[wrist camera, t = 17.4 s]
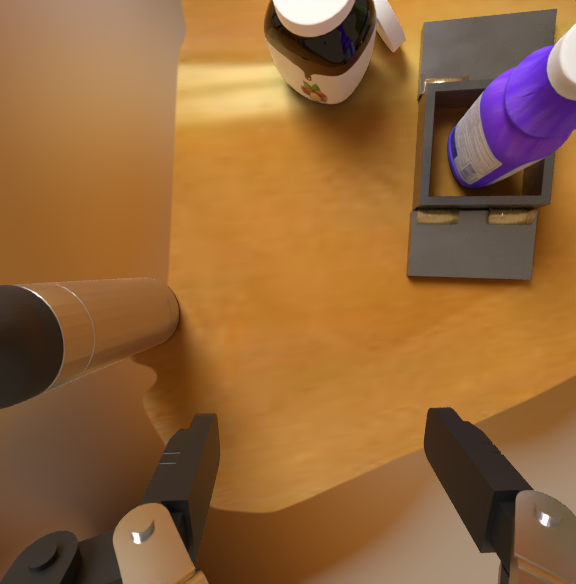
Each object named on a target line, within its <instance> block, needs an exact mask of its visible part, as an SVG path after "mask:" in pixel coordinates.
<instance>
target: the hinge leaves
mask: <svg viewBox="0 0 576 584" xmlns="http://www.w3.org/2000/svg"><path fill="white" fill-rule="evenodd" d="M556 13H557V9H550V10H541V11H531V12H521V13H511V14H502V15H492V16H482V17H473V18H463V19H453V20H444V21H434V22H424V25H423V28H422V31H421V47H420V63H419V80H418V96H417V100H420V101H419V111H418V128H417V144H416V160H415V176H414V193H413V209H412V212H411V213H410V227H409V243H408V260H407V276H433V277H463V278H494V279H524V280H531V275H532V265H533V254H534V244H535V233H536V223H537V212H538V211H535V210H534V209H536V208H539V207H542V206H546V205H549V204H550V200H551V189H552V179H553V169H554V159H555V151H554V152H553V153H552V154H551V155H549V156H548V157H546V158H544V159H542V160H540V161H538V162H536V163H534V164H532V165H530V166H528V167H526V168H525V169H524V176H523V187H522V196H438V197H429V181H430V166H431V151H432V136H433V121H434V109H437V108H454V107H471V106H472V105H473V104H474V102H475V101H476V100H477V99H478V97H479V96H480V95H481V94H482V93H483V91H484V90H485V89H486V87H487V86H488V85H489V84H490V83H491V82H492V81H493V80H494V79H496V78H497V77H499V76H500V75H501V74H502V73H504V72H505V71H507V70H509V69H512V68H515V67H517V66H518V65H519V64H520V62H522V61H523V60H524V59H525V58H526V57H528V56H529V55H531V54H532V53H533V52H535V51H536V50H539V49H541V48H543V47H547V46H553V44H554V34H555V23H556Z"/></svg>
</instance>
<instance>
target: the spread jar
mask: <svg viewBox="0 0 576 584" xmlns="http://www.w3.org/2000/svg"><path fill="white" fill-rule="evenodd" d="M376 31H377V32H378V34H379V35H380V37H381V38H382V40H383V41H384V42H385V44H386V45H387V46H388V48H389V49H390V50H391V51H392V52H395V51H396V50H397V49H398V48H399V47H400V46H401V45H402V44H403V43H404V42H405V41H406V39H405V35H404V32H403V30H402V27H401V25H400V23H399V21H398V19H397V17H396V15H395V13H394V11H393V10H392V8H391V6H390V4H389V3H388V1H387V0H270V1H269V4H268V7H267V11H266V14H265V19H264V34H265V38H266V42H267V45H268V48H269V51H270V54H271V57H272V59H273V62H274V64H275V66H276V68H277V70H278V71H279V73H280V74H281V76H282V77H283V78H284V80H285V81H286V82H287V83H288V84H289V85H290V86H291V87H292V88H293V89H294V90H295V91H296V92H298V93H299V94H300V95H302V96H303V97H304V98H306V99H308V100H310V101H312V102H316V103H320V104H328V105H332V104H337V103H340V102H342V101H344V100H345V99H347V98H348V97H349V96H350V95H351V94H352V92H353V91H354V90H355V89H356V87H357V86H358V84H359V83H360V81H361V80H362V78H363V76H364V74H365V72H366V70H367V68H368V65H369V62H370V60H371V56H372V53H373V48H374V43H375V35H376Z"/></svg>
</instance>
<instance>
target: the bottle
mask: <svg viewBox="0 0 576 584" xmlns="http://www.w3.org/2000/svg"><path fill="white" fill-rule="evenodd" d="M575 129H576V24H575V25H574V26H573V27H572V28H571V29H570V30H569V31H568V32H567V33H566V34H565V35H563V36H562V37H561V38H560V39H559V40H558V42H557V43H556V44H555V45H553V46H547V47H543V48H541V49H539V50H536V51H535V52H533V53H532V54H531V55H529V56H528V57H526V58H525V59H524V60H523V61H522V62H520V64H519V65H518V66H517V67H515V68H512V69H509V70H507V71H505V72H504V73H502V74H501V75H500V76H499V77H497V78H496V79H494V80H493V81H492V82H491V83H490V84H489V85H488V86H487V87H486V89H485V90H484V91H483V93H482V94H481V95H480V96H479V97H478V99H477V100H476V101H475V102H474V104H473V105H472V106H471V107H470V109H469V110H468V111H467V112H466V114H465V115H464V116H463V117H462V119H461V120H460V121H459V122H458V124H457V125H456V126H455V127H454V128H453V130H452V131H451V133H450V135H449V138H448V147H447V149H448V159H449V164H450V167H451V170H452V172H453V174H454V176H455V178H456V179H457V181H458V182H459V183H460V184H461V185H462V186H465V187H469V188H479V187H487V186H490V185H493V184H495V183H497V182H498V181H501V180H504V179H506V178H507V177H509V176H511V175H513V174H515V173H517V172H519V171H521V170H523V169H525V168H526V167H528V166H530V165H532V164H534V163H536V162H538V161H540V160H542V159H544V158H546V157H548V156H549V155H551V154H552V153H553V152H554V151H556V150H557V149H558V148H559V147H560V146H561V145H562V144H563V143H564V142H565V141H566V140H567V139H568V137H569V136H570V134H571V132H572V131H573V130H575Z"/></svg>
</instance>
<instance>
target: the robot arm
mask: <svg viewBox="0 0 576 584" xmlns="http://www.w3.org/2000/svg"><path fill="white" fill-rule="evenodd" d="M178 322H179V306H178V303H177V300H176V298H175V296H174V294H173V292H172V291H171V290H170V289H169V287H167V286H166V285H165V284H164V283H162V282H160V281H159V280H156V279H153V278H130V279H129V278H128V279H108V280H90V281H72V282H54V283H40V284H23V285H1V286H0V409H2V408H6V407H10V406H13V405H15V404H18V403H21V402H23V401H26V400H28V399H30V398H33V397H35V396H37V395H40V394H42V393H44V392H47V391H50V390H52V389H54V388H57V387H59V386H62V385H64V384H66V383H69V382H71V381H73V380H75V379H78V378H80V377H83V376H85V375H87V374H90V373H92V372H95V371H97V370H99V369H102V368H104V367H107V366H109V365H111V364H114V363H116V362H119V361H121V360H123V359H126V358H128V357H131V356H133V355H135V354H138V353H140V352H143V351H145V350H148V349H150V348H152V347H155V346H157V345H159V344H162V343H164V342H165V341H167V340H168V339H169V338H170V337H171V336H172V335H173V333H174V332H175V330H176V328H177V325H178ZM424 450H425V454H426V456H427V459H428V461H429V463H430V464H431V466H432V468H433V470H434V472H435V473H436V475H437V477H438V479H439V481H440V482H441V484H442V486H443V488H444V489H445V491H446V493H447V494H448V496H449V498H450V500H451V502H452V503H453V505H454V507H455V509H456V510H457V512H458V514H459V516H460V517H461V519H462V521H463V523H464V524H465V526H466V528H467V530H468V531H469V533H470V535H471V537H472V538H473V540H474V542H475V544H476V545H477V547H478V549H479V551H480V552H481V553H490V552H496V553H497V555H498V557H499V558H500V560H501V562H500V566H499V575H498V584H576V516H575V515H574V514H573V513H572V511H571V510H570V509H568V508H567V507H566V506H565V505H564V504H562V503H561V502H559V501H558V500H556V499H555V498H553V497H551V496H549V495H547V494H544V493H541V492H538V491H534V490H533V488H532V487H531V486H530V485H529V484H528V483H527V482H526V480H525V479H524V478H523V477H522V476H521V475H520V474H519V472H518V471H517V470H516V469H515V468H514V467H513V466H512V465H511V463H510V462H509V461H508V460H507V459H506V458H505V456H504V455H501V452H500V451H499V450H498V448H497V447H496V446H495V445H493V444H492V442H491V441H490V439H489V438H488V437H487V436H486V435H485V434H484V432H483V431H481V430H480V429H479V428H477V427H476V426H474V425H473V424H471V423H470V422H468V421H463V420H462V419H461V418H460V417H459V416H458V414H457V413H456V412H455V411H454V410H453V409H452V408H450V407H447V408H430V409H429V410H428V413H427V421H426V428H425V436H424ZM219 459H220V443H219V432H218V422H217V415H216V414H196V415H195V416H194V418H193V421H192V423H191V426H190V429H180V430H179V431H178V432H177V433H176V434H175V435H174V436H173V437H172V438H171V439H170V440H169V442H168V444H167V446H166V449H165V451H164V454H163V455H162V457H161V459H160V462H159V465H158V466H157V468H156V470H155V473H154V475H153V477H152V479H151V481H150V484H149V485H148V488H147V490H146V492H145V494H144V496H143V499H142V501H141V503H140V505H139V507H137V508H135V509H133V510H132V511H130V512H129V513H128V514H127V515H126V516H125V517H124V518H123V519H122V520H121V521H120V523H119V524H118V525H117V527H116V528H115V529H114V530H112V531H109V532H107V533H104V534H101V535H98V536H95V537H92V538H89V539H87V540H83V541H81V542H78V540H77V538H76V536H75V535H74V534H73V533H71V532H69V531H58V532H54V533H50V534H48V535H45V536H43V537H42V538H40V539H38V540H37V541H35V542H34V543H32V544H31V545H30V546H28V547H27V548H26V549H25V550H24V551H23V552H22V553H21V554H20V555H19V556H18V557H17V558H16V560H15V561H14V562H13V564H12V566H11V567H10V568H9V570H8V571H7V573H6V574H5V576H4V577H3V579H2V580H1V582H0V584H208V582H207V580H206V578H205V576H204V574H203V572H202V571H201V570H200V569H198V570H196V569H195V567H194V565H193V563H192V562H196V561H197V557H198V553H199V548H200V544H201V540H202V535H203V531H204V527H205V522H206V518H207V513H208V509H209V505H210V501H211V496H212V492H213V488H214V483H215V479H216V475H217V470H218V466H219Z"/></svg>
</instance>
